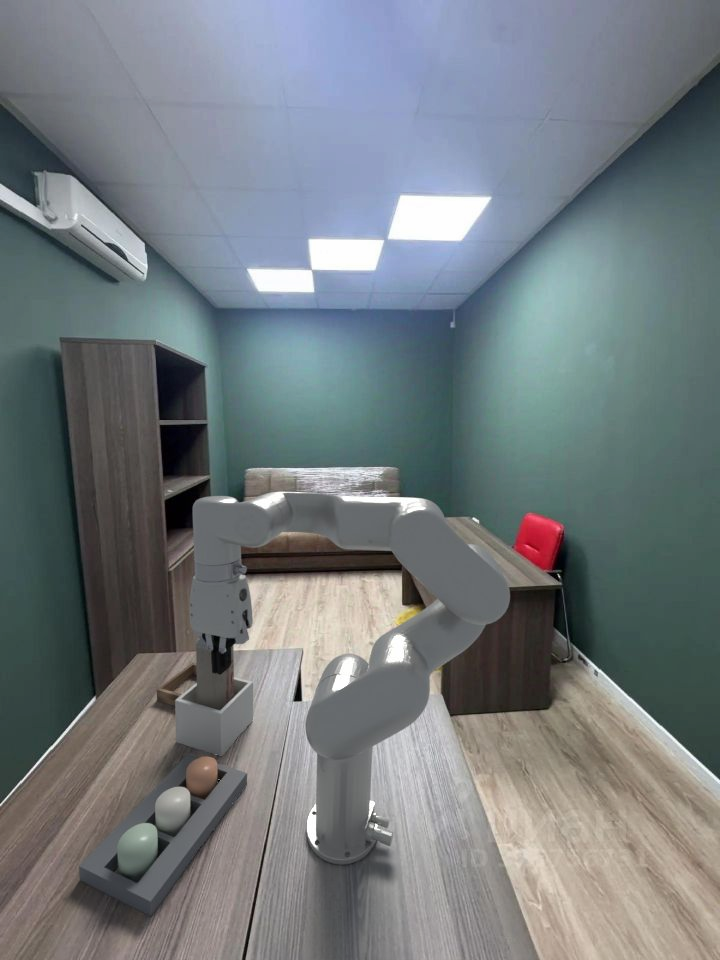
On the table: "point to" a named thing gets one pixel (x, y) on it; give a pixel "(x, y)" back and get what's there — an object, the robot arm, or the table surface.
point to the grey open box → (213, 719)
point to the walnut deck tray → (175, 685)
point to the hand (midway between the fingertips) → (221, 669)
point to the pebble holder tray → (162, 840)
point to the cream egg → (172, 810)
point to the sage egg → (137, 851)
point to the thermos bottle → (212, 679)
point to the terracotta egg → (201, 777)
